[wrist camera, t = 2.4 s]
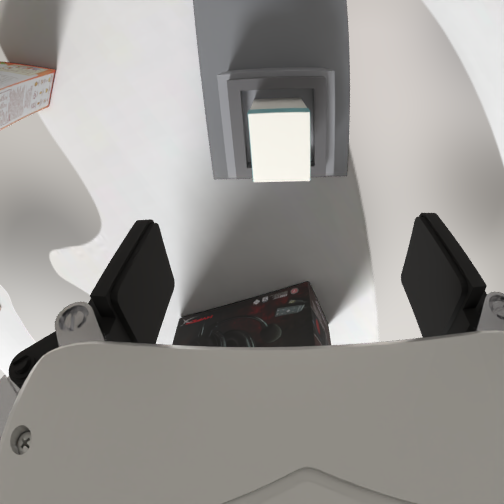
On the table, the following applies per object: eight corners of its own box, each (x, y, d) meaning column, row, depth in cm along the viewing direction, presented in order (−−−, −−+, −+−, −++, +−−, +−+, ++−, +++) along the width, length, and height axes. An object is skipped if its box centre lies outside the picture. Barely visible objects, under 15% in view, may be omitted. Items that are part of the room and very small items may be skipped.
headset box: (311, 277, 46) (326, 510, 20) (332, 325, 53) (348, 513, 26) (177, 315, 54) (131, 496, 27) (212, 353, 60) (186, 512, 34)
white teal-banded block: (253, 98, 24) (247, 113, 19) (301, 97, 24) (310, 111, 18) (257, 152, 27) (252, 183, 22) (302, 151, 27) (310, 181, 21)
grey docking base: (188, -78, 17) (163, -109, 10) (333, -85, 16) (350, -119, 8) (215, 176, 37) (199, 214, 30) (345, 172, 36) (364, 210, 28)
